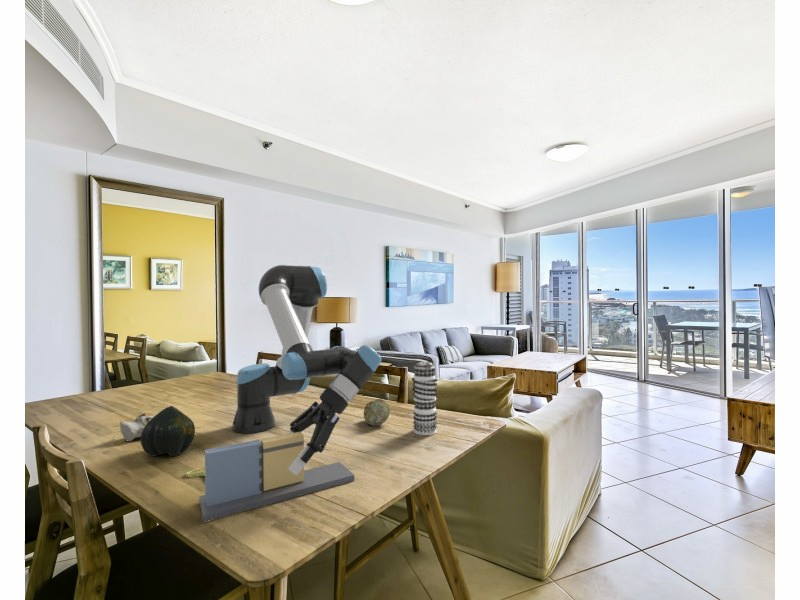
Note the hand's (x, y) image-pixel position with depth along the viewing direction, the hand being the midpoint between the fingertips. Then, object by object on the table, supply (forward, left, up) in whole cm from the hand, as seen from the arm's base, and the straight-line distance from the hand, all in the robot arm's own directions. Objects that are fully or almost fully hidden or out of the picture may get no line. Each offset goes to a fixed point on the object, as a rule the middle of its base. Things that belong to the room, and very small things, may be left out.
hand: (284, 462), depth 98 cm
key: (-26, +3, -8) cm, 28 cm away
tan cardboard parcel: (0, 0, -5) cm, 5 cm away
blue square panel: (-9, -8, -6) cm, 13 cm away
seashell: (+8, +56, -7) cm, 57 cm away
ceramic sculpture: (-70, +25, -7) cm, 75 cm away
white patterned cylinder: (+28, +51, -7) cm, 58 cm away
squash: (-49, +15, -7) cm, 52 cm away
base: (-1, 0, -7) cm, 7 cm away
